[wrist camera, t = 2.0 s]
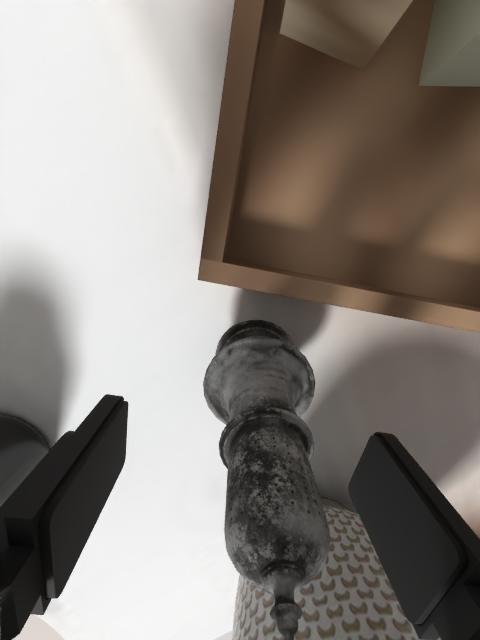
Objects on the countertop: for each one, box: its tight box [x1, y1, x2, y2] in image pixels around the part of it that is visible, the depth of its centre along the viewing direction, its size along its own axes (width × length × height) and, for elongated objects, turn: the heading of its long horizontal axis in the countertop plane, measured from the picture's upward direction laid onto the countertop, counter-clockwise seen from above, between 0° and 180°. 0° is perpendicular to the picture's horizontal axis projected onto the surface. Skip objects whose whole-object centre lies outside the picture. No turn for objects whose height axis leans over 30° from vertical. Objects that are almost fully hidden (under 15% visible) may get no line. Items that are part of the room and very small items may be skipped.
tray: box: [198, 0, 480, 333], centre depth 11 cm, size 20×16×3 cm
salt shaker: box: [203, 320, 330, 640], centre depth 10 cm, size 6×6×12 cm
